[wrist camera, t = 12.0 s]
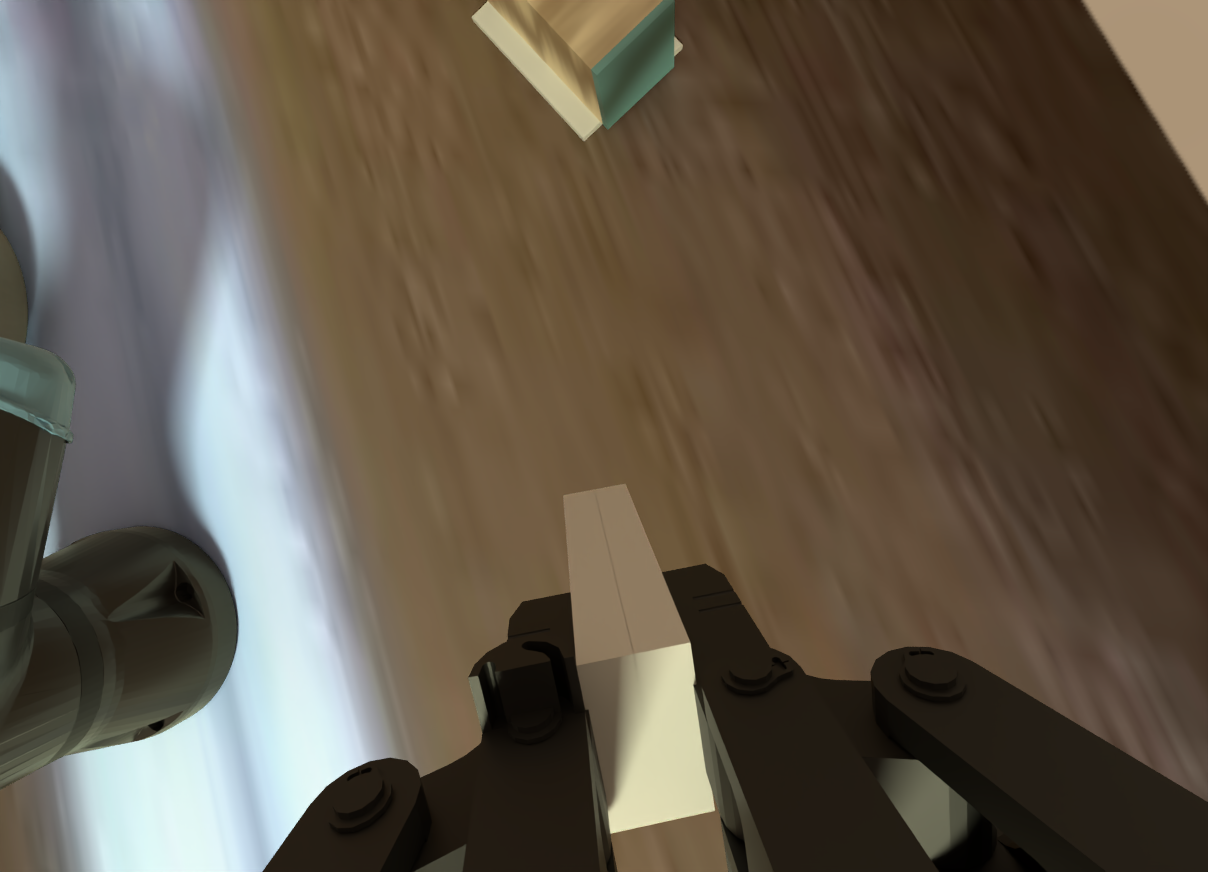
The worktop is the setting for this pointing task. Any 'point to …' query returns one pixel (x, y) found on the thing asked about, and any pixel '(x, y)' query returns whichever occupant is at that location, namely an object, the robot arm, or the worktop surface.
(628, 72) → the beech block
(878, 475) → the worktop surface
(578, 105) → the mat
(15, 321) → the cake pan
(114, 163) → the worktop surface
